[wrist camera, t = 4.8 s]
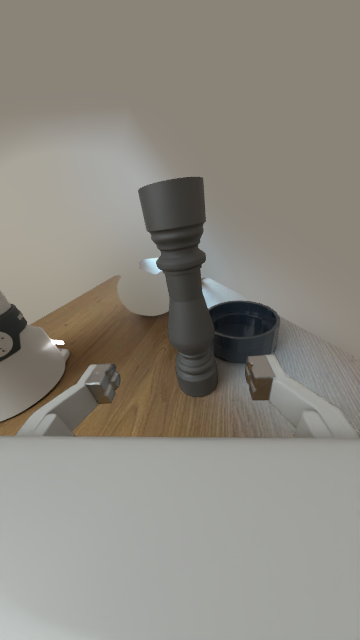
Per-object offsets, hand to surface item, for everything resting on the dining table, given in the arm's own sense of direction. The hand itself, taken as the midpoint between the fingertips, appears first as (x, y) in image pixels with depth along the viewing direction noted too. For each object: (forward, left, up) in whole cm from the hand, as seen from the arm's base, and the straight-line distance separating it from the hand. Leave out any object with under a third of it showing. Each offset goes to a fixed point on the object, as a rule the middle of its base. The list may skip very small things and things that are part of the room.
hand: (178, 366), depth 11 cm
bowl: (0, +22, -15) cm, 26 cm away
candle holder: (-4, +10, -15) cm, 19 cm away
